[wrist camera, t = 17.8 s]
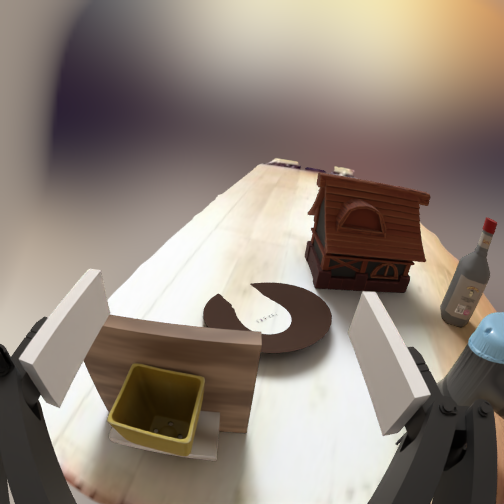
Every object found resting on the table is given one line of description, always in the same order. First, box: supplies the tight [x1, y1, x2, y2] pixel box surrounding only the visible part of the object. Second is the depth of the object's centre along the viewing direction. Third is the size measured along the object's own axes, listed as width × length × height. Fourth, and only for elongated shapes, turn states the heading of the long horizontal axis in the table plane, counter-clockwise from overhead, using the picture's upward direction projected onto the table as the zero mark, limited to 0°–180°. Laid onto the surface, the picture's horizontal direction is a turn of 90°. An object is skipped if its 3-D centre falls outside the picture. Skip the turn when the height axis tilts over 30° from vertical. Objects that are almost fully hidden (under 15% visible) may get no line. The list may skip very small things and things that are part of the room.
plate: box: [203, 283, 332, 353], centre depth 62 cm, size 28×28×4 cm
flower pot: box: [107, 363, 205, 456], centre depth 27 cm, size 9×9×9 cm
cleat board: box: [84, 315, 262, 461], centre depth 32 cm, size 15×22×20 cm
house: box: [305, 173, 430, 293], centre depth 78 cm, size 35×28×29 cm
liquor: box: [440, 218, 497, 327], centre depth 58 cm, size 9×9×30 cm
